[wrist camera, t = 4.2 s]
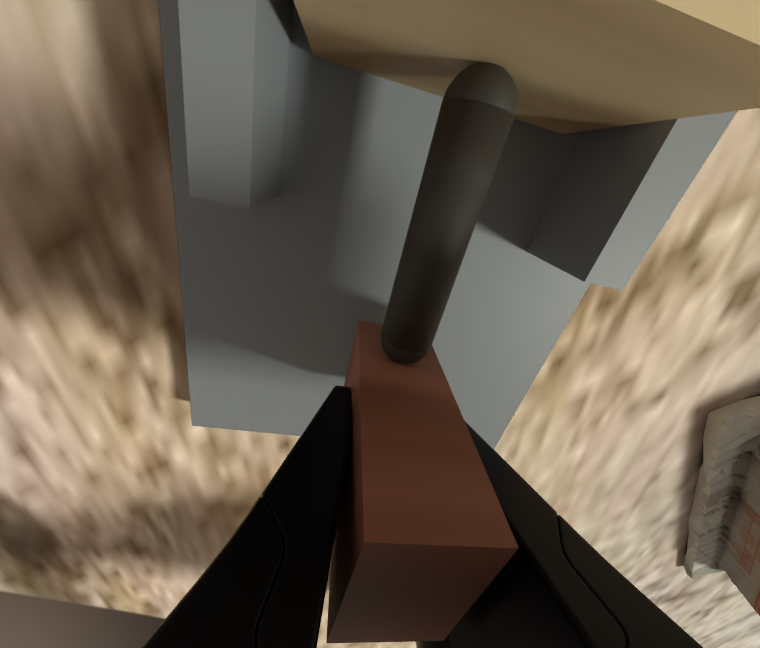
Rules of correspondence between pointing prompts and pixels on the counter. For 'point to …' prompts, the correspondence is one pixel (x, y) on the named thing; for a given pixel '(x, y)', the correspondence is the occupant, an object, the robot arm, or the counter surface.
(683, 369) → the counter surface
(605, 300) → the counter surface
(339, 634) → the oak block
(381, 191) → the shelf lane
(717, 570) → the packaged product
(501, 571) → the robot arm
